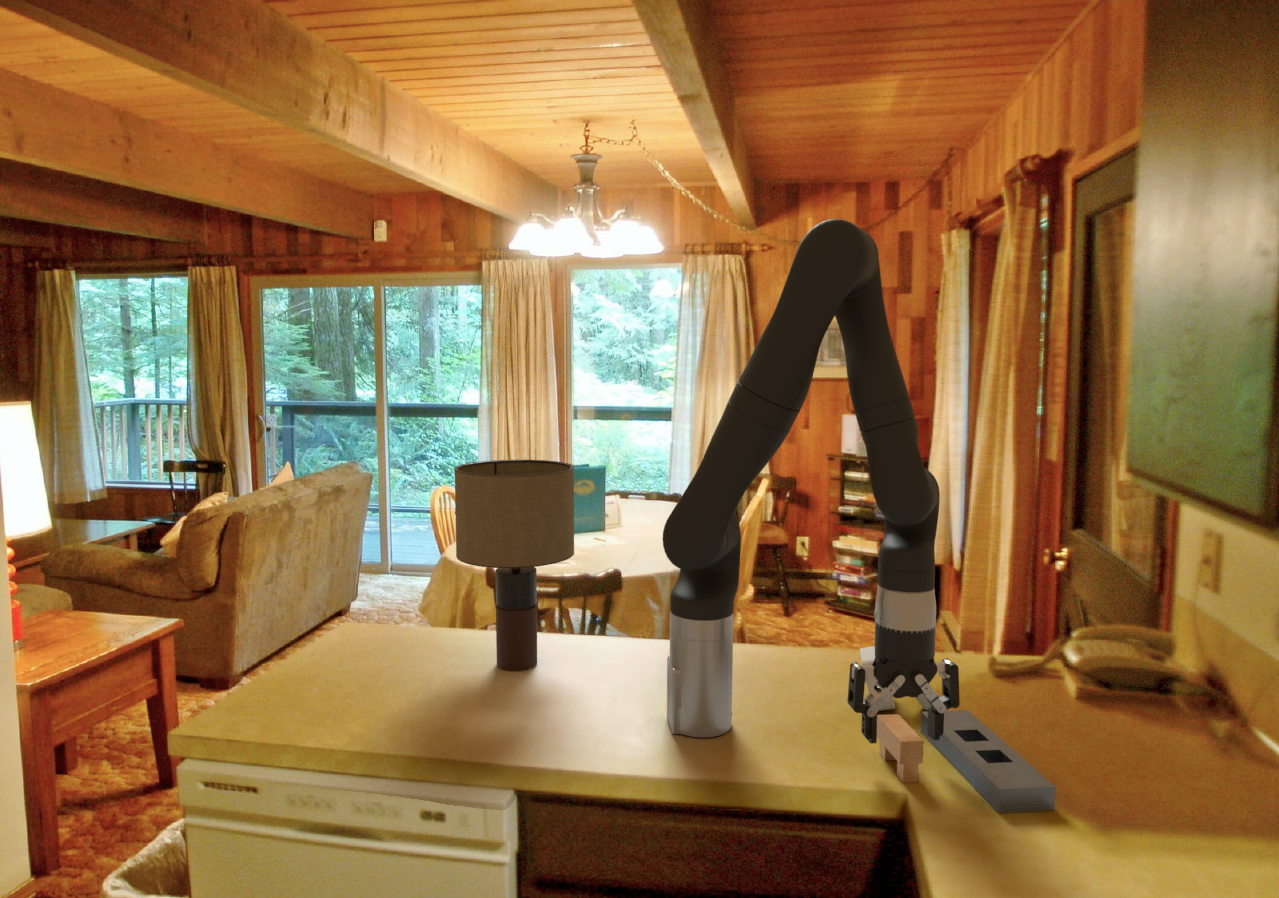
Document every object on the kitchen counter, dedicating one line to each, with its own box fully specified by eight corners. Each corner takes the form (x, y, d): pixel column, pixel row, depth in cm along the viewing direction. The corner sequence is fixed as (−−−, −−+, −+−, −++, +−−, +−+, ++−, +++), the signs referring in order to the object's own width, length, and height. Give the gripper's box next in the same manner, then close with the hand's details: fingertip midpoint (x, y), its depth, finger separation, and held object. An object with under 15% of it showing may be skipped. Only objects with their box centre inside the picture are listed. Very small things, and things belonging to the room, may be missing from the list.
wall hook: (945, 716, 126) (932, 652, 126) (875, 726, 129) (861, 663, 128) (938, 695, 134) (925, 635, 134) (872, 705, 137) (859, 645, 136)
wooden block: (921, 781, 108) (923, 740, 108) (899, 782, 108) (900, 741, 108) (896, 752, 116) (898, 714, 116) (875, 753, 116) (877, 714, 115)
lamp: (568, 686, 139) (567, 475, 135) (446, 685, 139) (441, 474, 135) (579, 644, 159) (578, 459, 155) (471, 643, 159) (468, 459, 155)
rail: (1054, 810, 102) (1055, 786, 101) (998, 812, 101) (999, 789, 101) (966, 729, 124) (967, 709, 123) (920, 731, 123) (921, 711, 122)
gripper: (862, 631, 106) (860, 755, 107) (971, 626, 107) (967, 749, 109) (842, 613, 113) (840, 729, 115) (944, 609, 114) (941, 724, 116)
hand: (902, 739), depth 112 cm, fingers open, 8 cm apart
